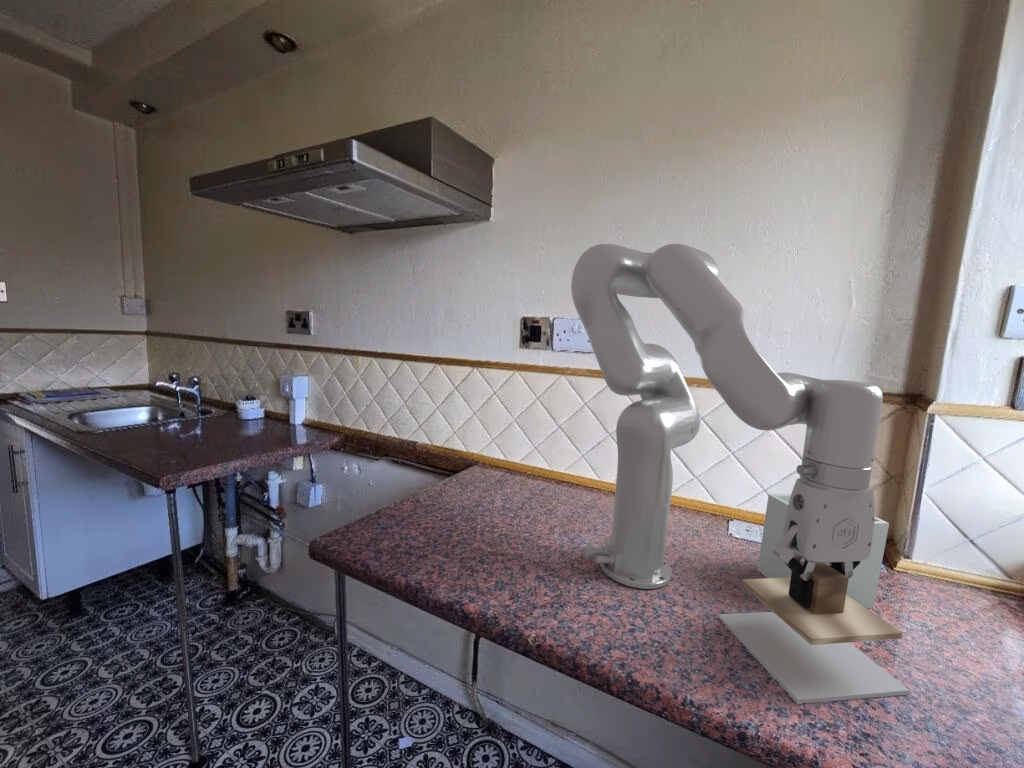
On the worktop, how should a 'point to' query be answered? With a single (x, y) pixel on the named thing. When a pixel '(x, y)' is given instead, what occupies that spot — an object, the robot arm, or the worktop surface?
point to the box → (859, 584)
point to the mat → (810, 662)
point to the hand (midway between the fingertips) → (815, 599)
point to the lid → (822, 609)
